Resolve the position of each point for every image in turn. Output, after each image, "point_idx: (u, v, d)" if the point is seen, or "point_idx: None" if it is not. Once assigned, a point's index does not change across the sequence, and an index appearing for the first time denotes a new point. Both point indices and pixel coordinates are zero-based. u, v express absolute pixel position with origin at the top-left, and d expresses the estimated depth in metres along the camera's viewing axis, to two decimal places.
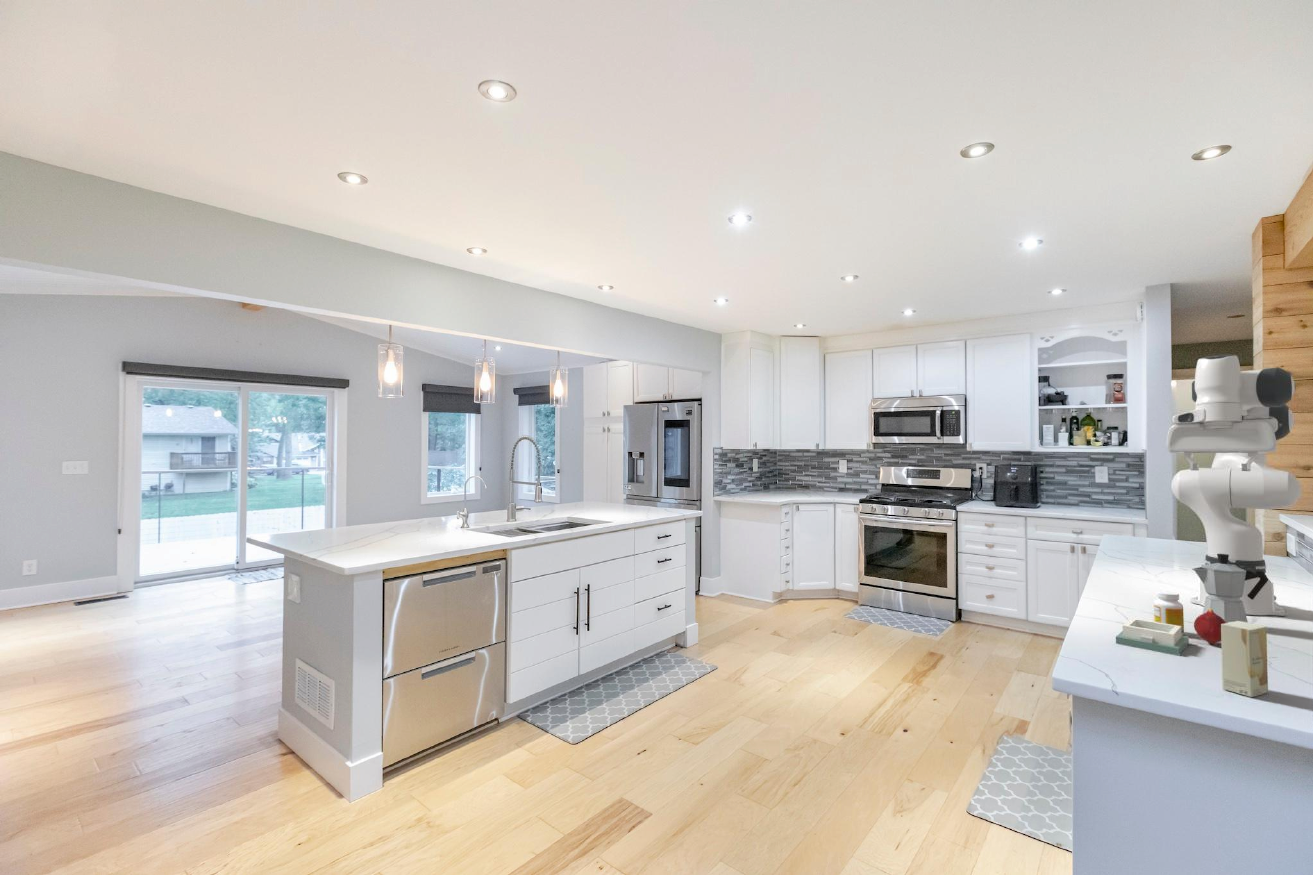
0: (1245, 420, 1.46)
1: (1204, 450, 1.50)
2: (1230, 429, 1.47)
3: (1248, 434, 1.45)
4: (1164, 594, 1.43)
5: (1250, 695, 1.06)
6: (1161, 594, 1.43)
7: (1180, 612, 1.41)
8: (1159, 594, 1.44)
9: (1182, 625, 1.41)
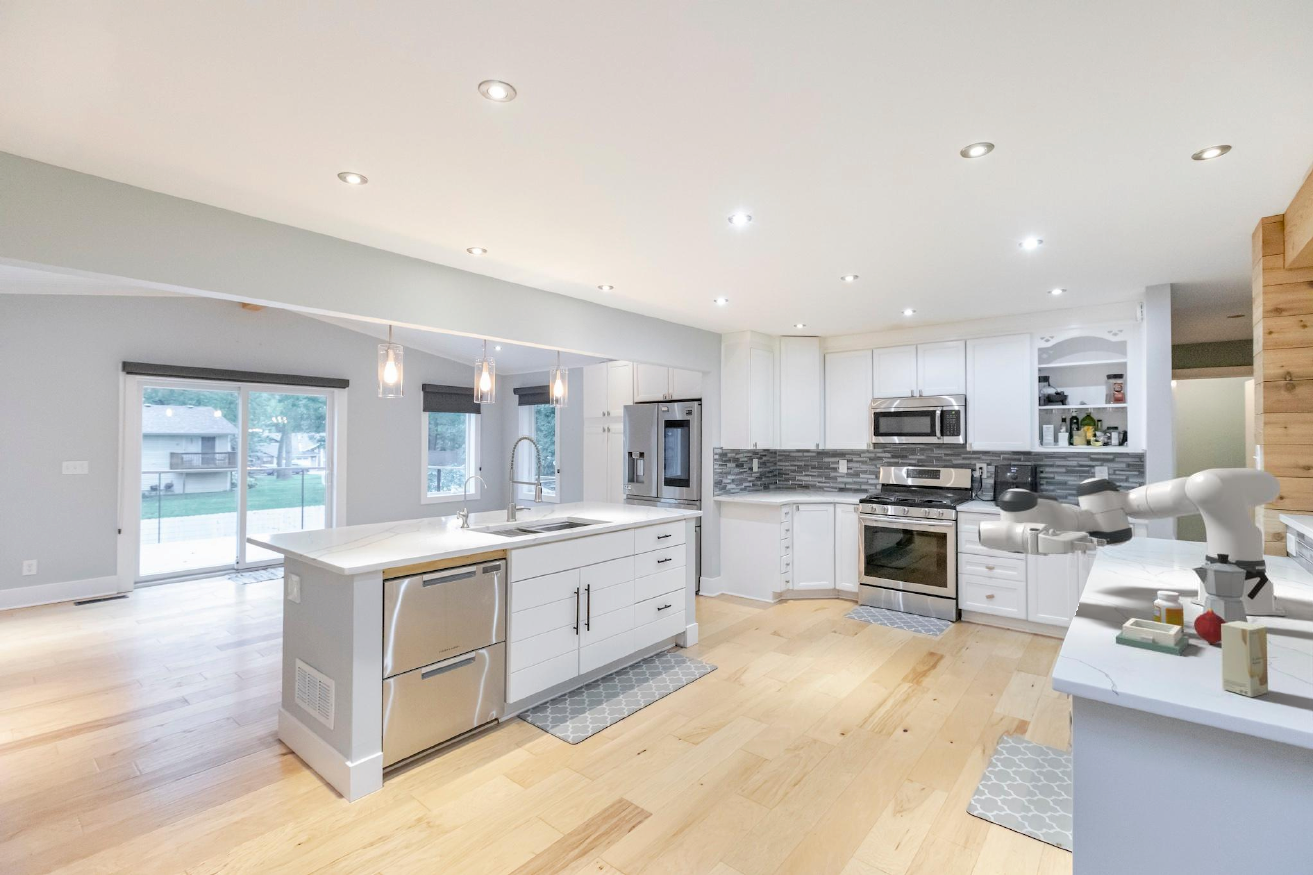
0: None
1: (1074, 537, 1.56)
2: (1058, 533, 1.63)
3: (1066, 533, 1.64)
4: (1164, 594, 1.43)
5: (1250, 695, 1.06)
6: (1161, 594, 1.43)
7: (1180, 612, 1.41)
8: (1159, 594, 1.44)
9: (1182, 625, 1.41)
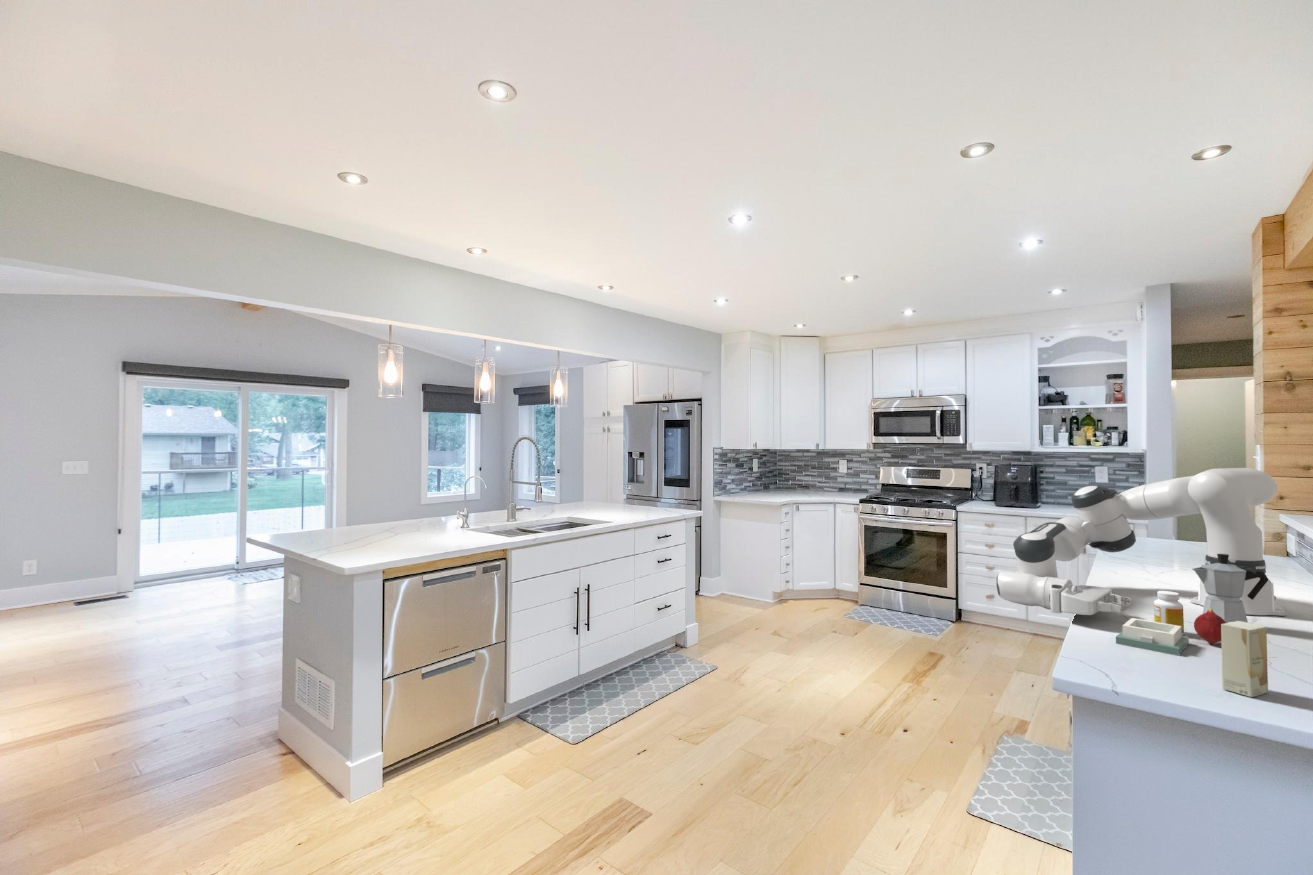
0: None
1: (1098, 596, 1.52)
2: (1080, 589, 1.59)
3: (1088, 589, 1.60)
4: (1164, 594, 1.43)
5: (1250, 695, 1.06)
6: (1161, 594, 1.43)
7: (1180, 612, 1.41)
8: (1159, 594, 1.44)
9: (1182, 625, 1.41)
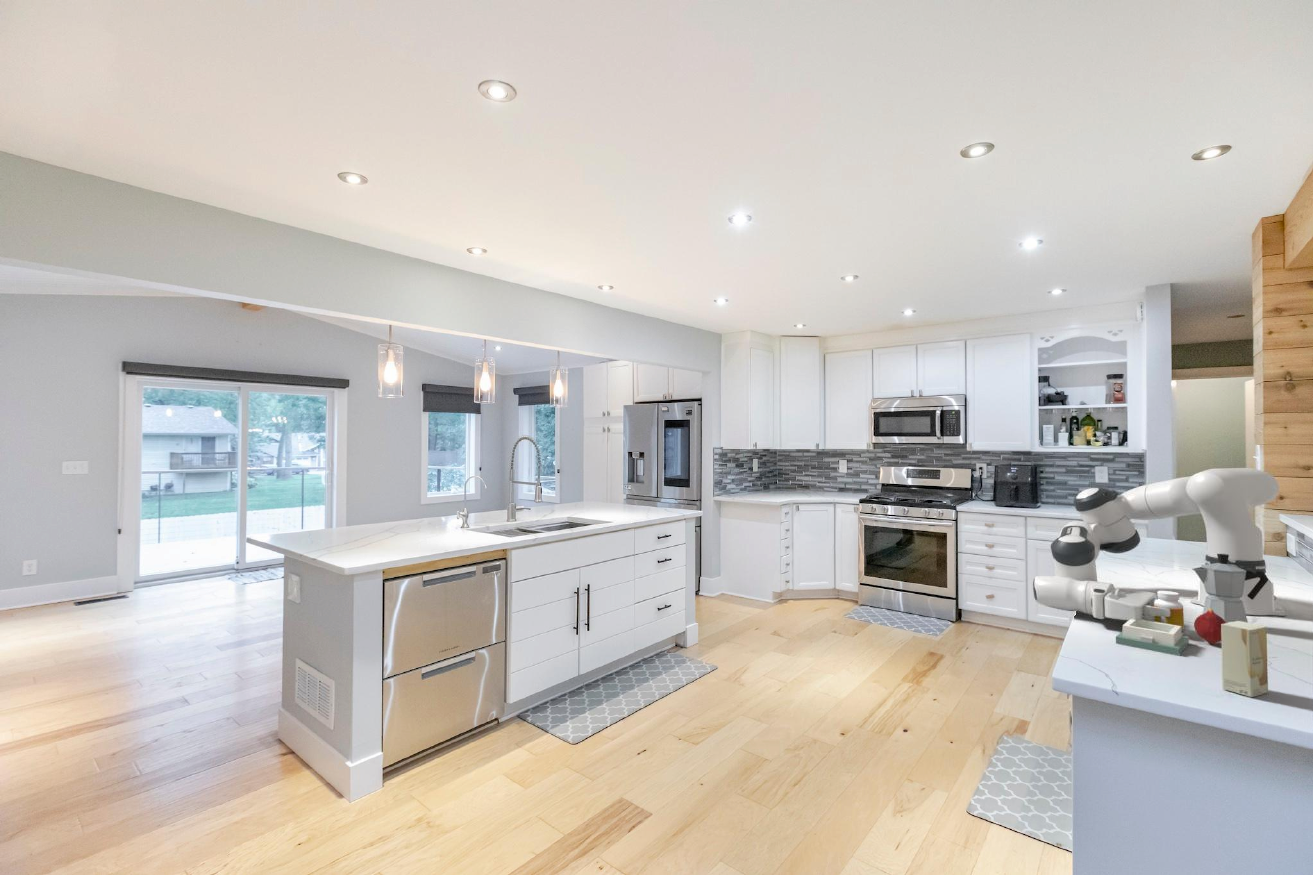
0: None
1: (1144, 601, 1.45)
2: (1123, 594, 1.52)
3: (1131, 593, 1.53)
4: (1164, 594, 1.43)
5: (1250, 695, 1.06)
6: (1161, 594, 1.43)
7: (1180, 612, 1.41)
8: (1159, 594, 1.44)
9: (1182, 625, 1.41)
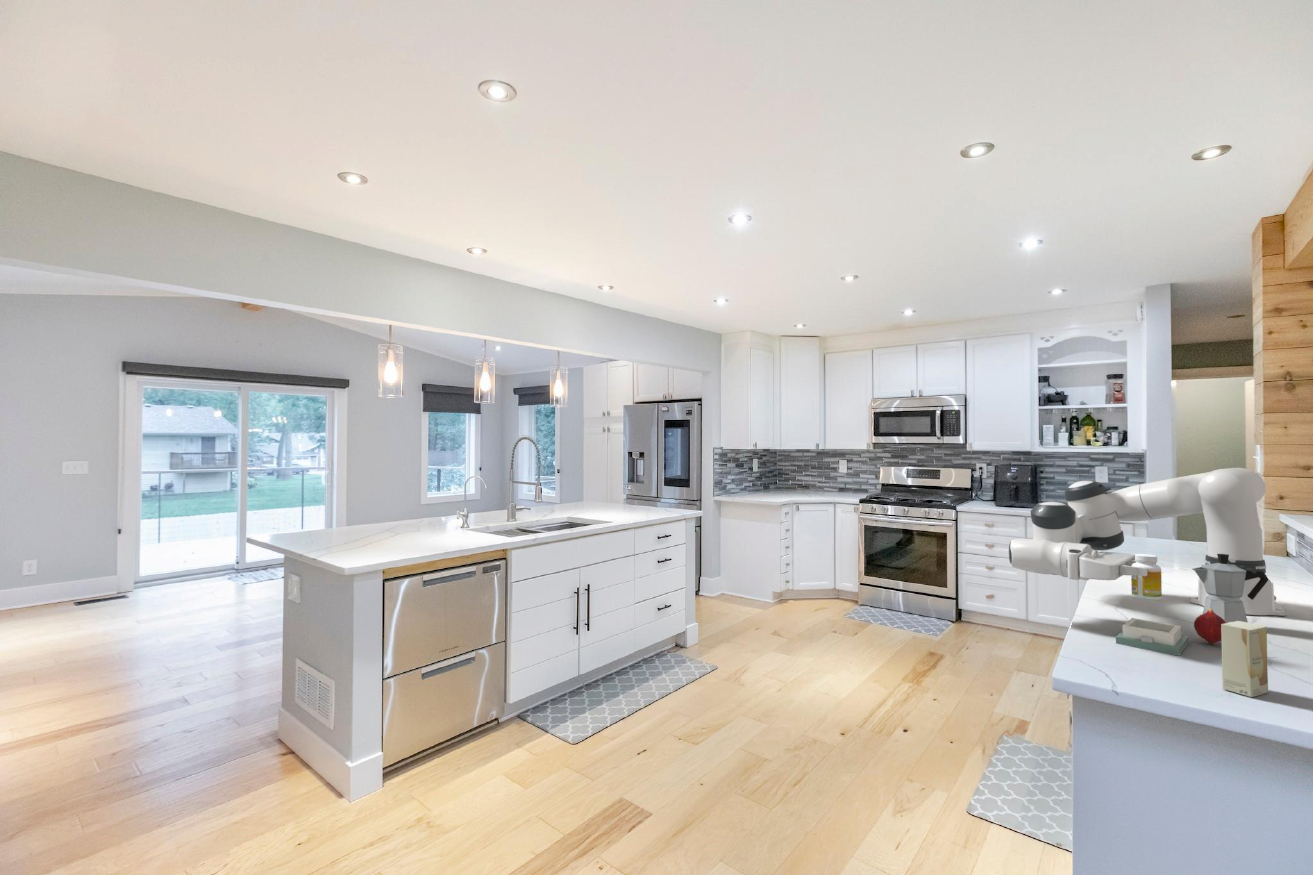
0: None
1: (1121, 560, 1.38)
2: (1100, 555, 1.45)
3: (1110, 555, 1.46)
4: (1141, 556, 1.36)
5: (1250, 695, 1.06)
6: (1138, 556, 1.37)
7: (1158, 575, 1.34)
8: (1136, 557, 1.37)
9: (1160, 589, 1.34)
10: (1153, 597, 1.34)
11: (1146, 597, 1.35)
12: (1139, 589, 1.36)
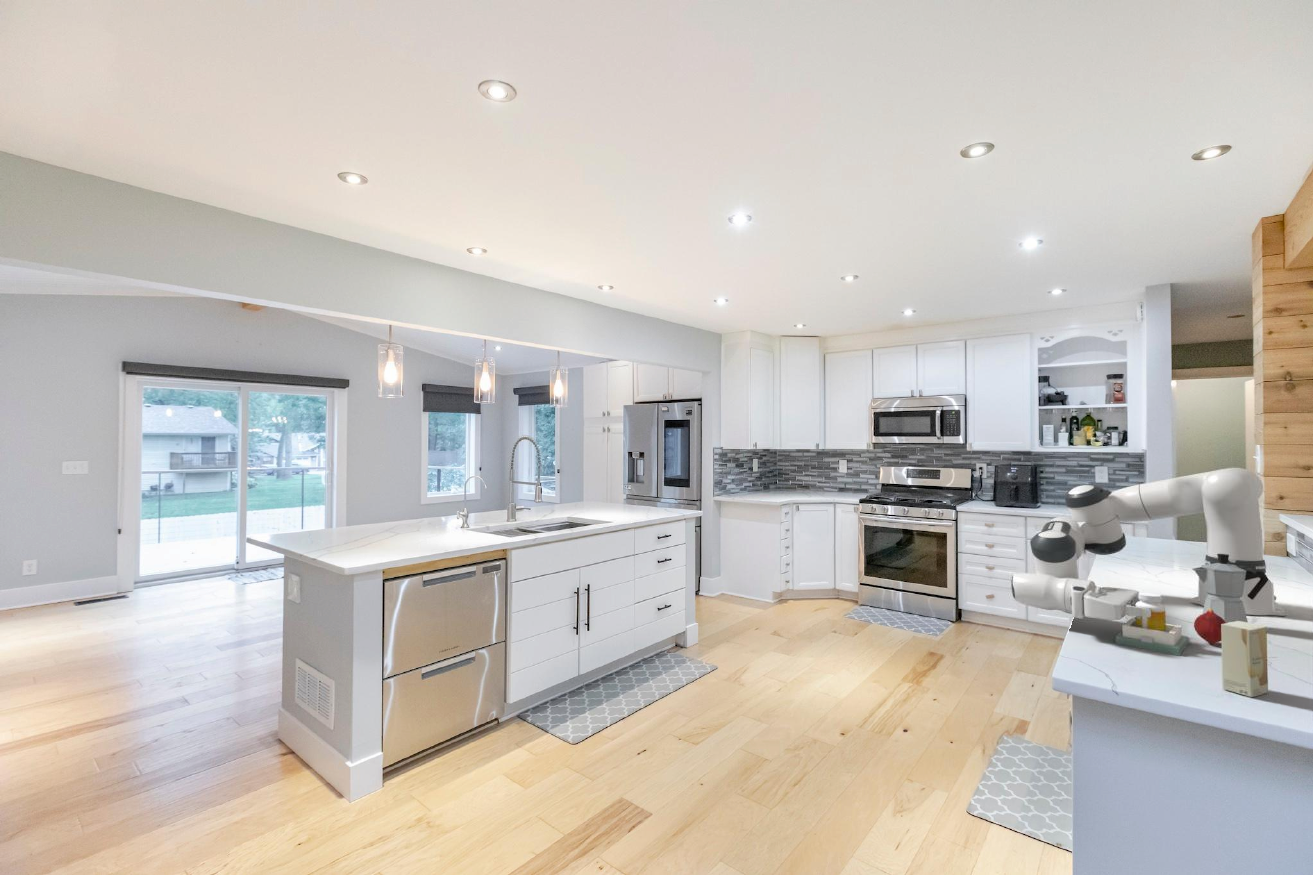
0: None
1: (1125, 599, 1.37)
2: (1104, 591, 1.44)
3: (1113, 591, 1.46)
4: (1145, 596, 1.35)
5: (1250, 695, 1.06)
6: (1142, 596, 1.36)
7: (1162, 615, 1.33)
8: (1140, 596, 1.36)
9: (1164, 629, 1.34)
10: None
11: None
12: None
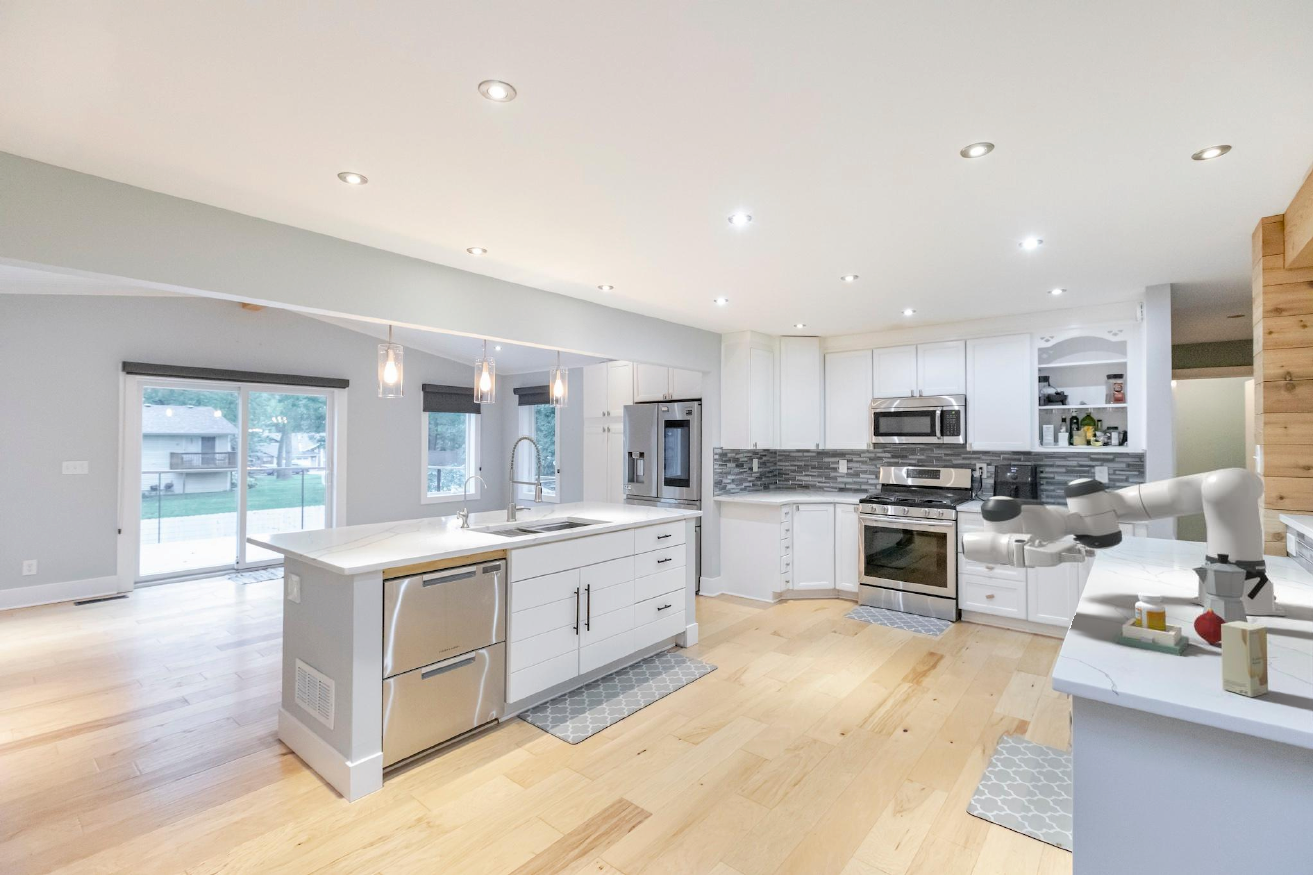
0: None
1: (1062, 548, 1.48)
2: (1044, 544, 1.55)
3: (1053, 544, 1.56)
4: (1145, 596, 1.35)
5: (1250, 695, 1.06)
6: (1142, 596, 1.36)
7: (1162, 615, 1.33)
8: (1140, 596, 1.36)
9: (1164, 629, 1.34)
10: None
11: None
12: None
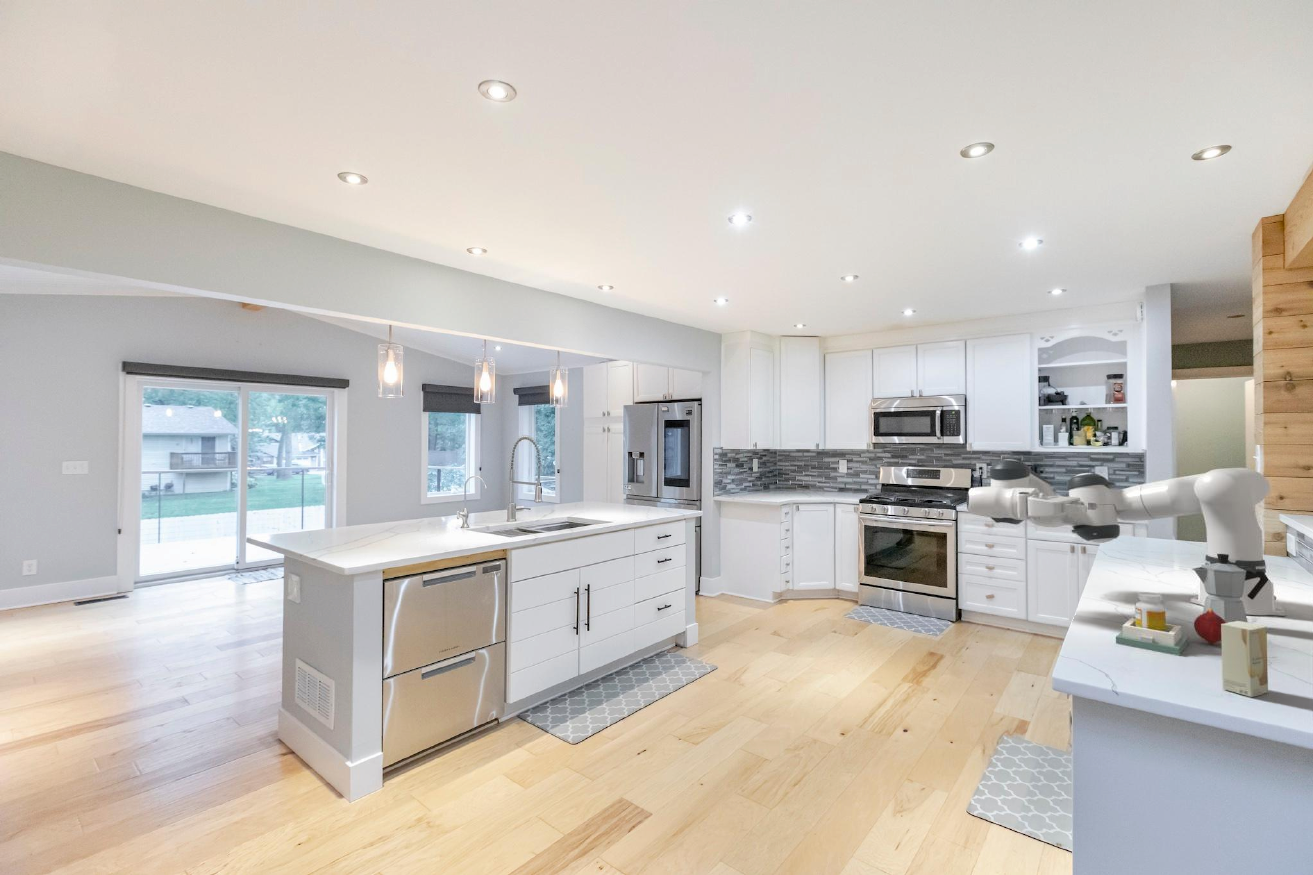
0: None
1: (1065, 500, 1.51)
2: (1048, 498, 1.58)
3: None
4: (1145, 596, 1.35)
5: (1250, 695, 1.06)
6: (1142, 596, 1.36)
7: (1162, 615, 1.33)
8: (1140, 596, 1.36)
9: (1164, 629, 1.34)
10: None
11: None
12: None
